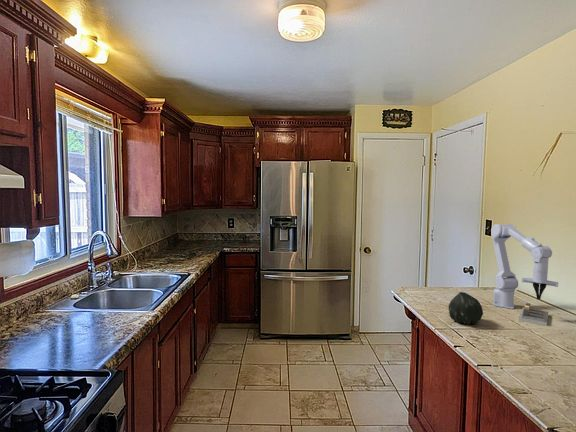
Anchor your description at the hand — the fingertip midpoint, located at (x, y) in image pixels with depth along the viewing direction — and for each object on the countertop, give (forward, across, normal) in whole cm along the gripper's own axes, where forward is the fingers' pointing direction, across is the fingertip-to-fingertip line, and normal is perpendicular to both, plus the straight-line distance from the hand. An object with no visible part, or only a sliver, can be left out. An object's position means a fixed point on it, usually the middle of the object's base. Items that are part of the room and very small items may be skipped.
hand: (538, 298), depth 180 cm
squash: (+10, -27, -28) cm, 40 cm away
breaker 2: (+8, -4, -6) cm, 11 cm away
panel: (+10, -1, 0) cm, 10 cm away
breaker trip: (+8, -5, 0) cm, 9 cm away
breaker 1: (+8, -4, +6) cm, 11 cm away
